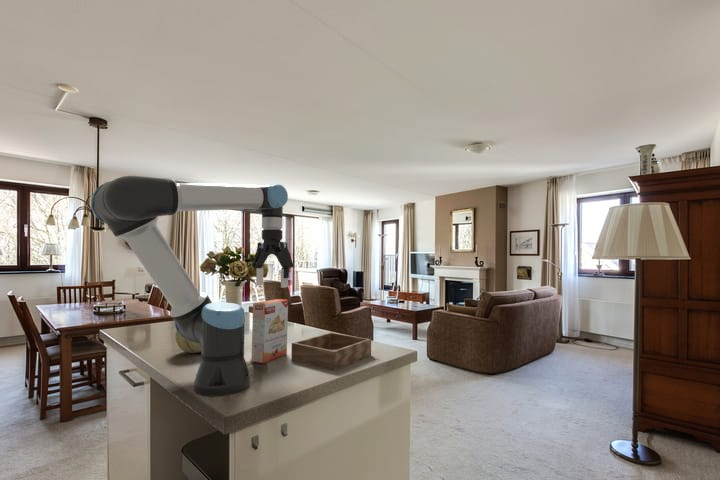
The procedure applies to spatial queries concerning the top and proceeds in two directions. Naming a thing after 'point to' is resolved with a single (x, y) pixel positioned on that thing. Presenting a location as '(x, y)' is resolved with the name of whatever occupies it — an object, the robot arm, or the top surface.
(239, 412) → the top surface
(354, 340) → the box
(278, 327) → the cracker box
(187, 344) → the cantaloupe
